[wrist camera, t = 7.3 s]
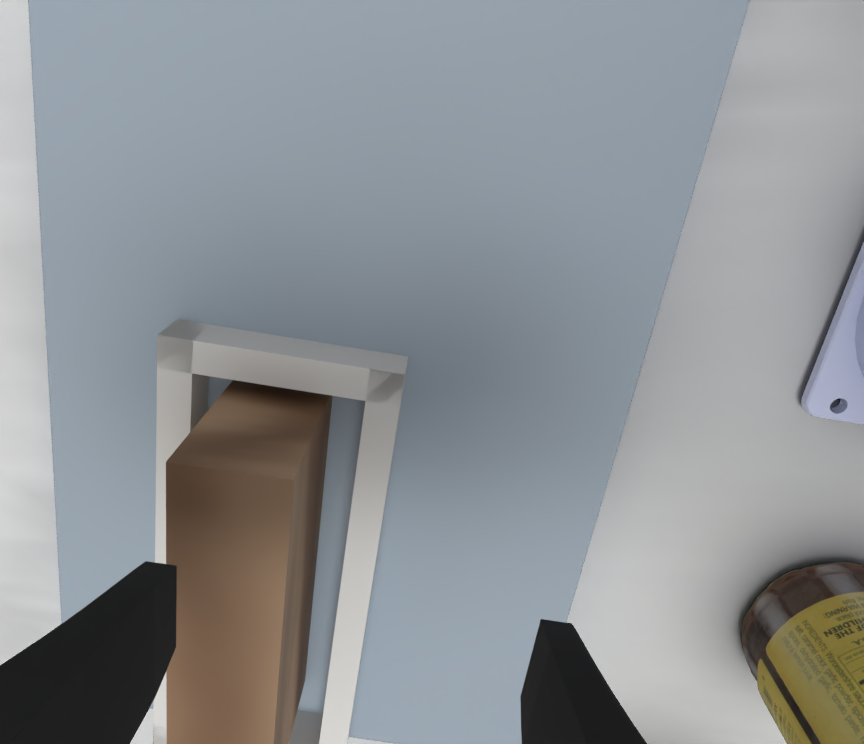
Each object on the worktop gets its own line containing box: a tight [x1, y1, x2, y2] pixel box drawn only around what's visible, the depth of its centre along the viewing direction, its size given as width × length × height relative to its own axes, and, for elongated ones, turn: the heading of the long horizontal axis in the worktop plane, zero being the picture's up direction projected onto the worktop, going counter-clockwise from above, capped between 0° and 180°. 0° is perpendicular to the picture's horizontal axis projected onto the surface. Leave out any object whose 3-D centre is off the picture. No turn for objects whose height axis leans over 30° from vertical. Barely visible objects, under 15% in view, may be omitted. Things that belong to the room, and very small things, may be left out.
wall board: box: [28, 0, 750, 744], centre depth 20 cm, size 18×30×2 cm, turn 171°
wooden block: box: [166, 380, 333, 744], centre depth 20 cm, size 3×12×6 cm, turn 172°
